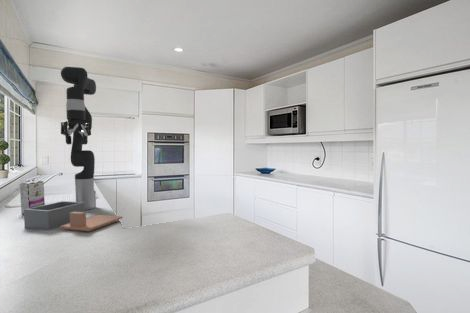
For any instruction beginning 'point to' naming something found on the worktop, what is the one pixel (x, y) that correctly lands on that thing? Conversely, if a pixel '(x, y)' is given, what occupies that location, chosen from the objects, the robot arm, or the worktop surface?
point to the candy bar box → (31, 195)
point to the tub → (51, 215)
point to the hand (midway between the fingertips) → (77, 144)
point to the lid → (88, 221)
